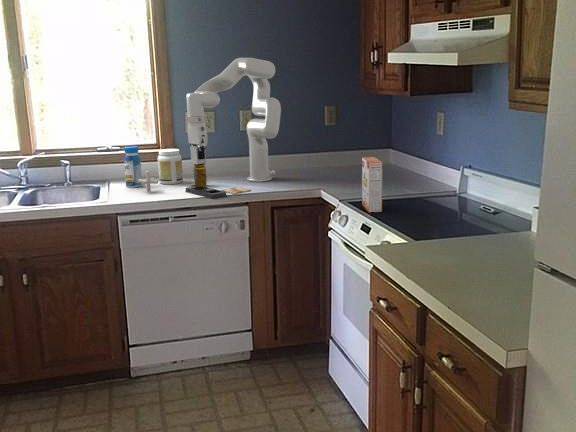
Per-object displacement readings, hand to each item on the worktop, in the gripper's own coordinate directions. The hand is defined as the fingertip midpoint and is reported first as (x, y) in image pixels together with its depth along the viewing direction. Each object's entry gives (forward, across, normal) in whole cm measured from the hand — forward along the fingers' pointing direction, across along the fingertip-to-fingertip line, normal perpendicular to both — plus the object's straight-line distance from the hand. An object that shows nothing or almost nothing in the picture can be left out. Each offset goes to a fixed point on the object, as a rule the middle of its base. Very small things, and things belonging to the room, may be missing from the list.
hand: (198, 158), depth 308 cm
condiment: (+17, +14, -8) cm, 24 cm away
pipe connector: (+17, +20, +16) cm, 31 cm away
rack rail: (+17, -5, 0) cm, 17 cm away
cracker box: (+17, -81, -30) cm, 88 cm away
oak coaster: (+17, -10, -14) cm, 24 cm away
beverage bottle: (+17, +38, +14) cm, 44 cm away
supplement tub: (+17, +32, -4) cm, 36 cm away
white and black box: (+2, 0, 0) cm, 2 cm away
